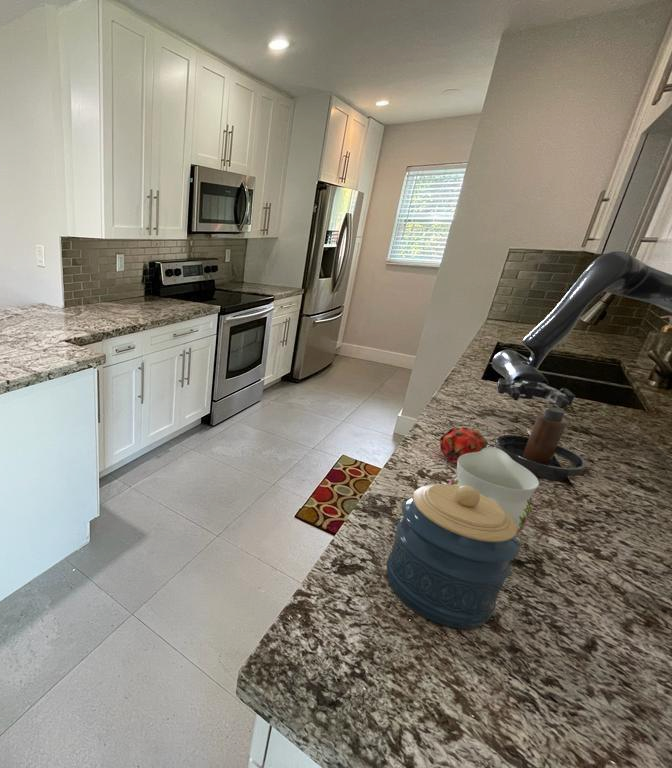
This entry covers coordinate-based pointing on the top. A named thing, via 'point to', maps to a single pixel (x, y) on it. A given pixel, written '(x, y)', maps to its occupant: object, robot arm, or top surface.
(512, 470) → the pitcher
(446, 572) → the canister
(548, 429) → the pepper mill
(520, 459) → the pan
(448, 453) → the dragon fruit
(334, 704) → the top surface
